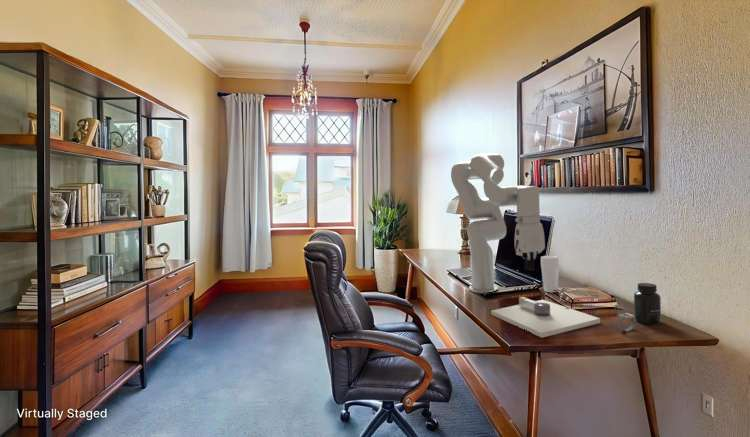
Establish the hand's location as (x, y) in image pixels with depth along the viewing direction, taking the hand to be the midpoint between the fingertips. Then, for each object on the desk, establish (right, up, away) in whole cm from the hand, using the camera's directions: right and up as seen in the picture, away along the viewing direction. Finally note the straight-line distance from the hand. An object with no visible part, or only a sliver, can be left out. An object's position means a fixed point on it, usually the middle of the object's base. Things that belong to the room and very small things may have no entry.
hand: (529, 269), depth 132 cm
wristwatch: (+20, -16, -23) cm, 34 cm away
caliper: (+23, -14, +2) cm, 27 cm away
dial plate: (+1, -16, -8) cm, 18 cm away
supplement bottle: (+30, -14, -17) cm, 38 cm away
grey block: (0, -14, -5) cm, 15 cm away
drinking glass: (+18, -13, +21) cm, 31 cm away
